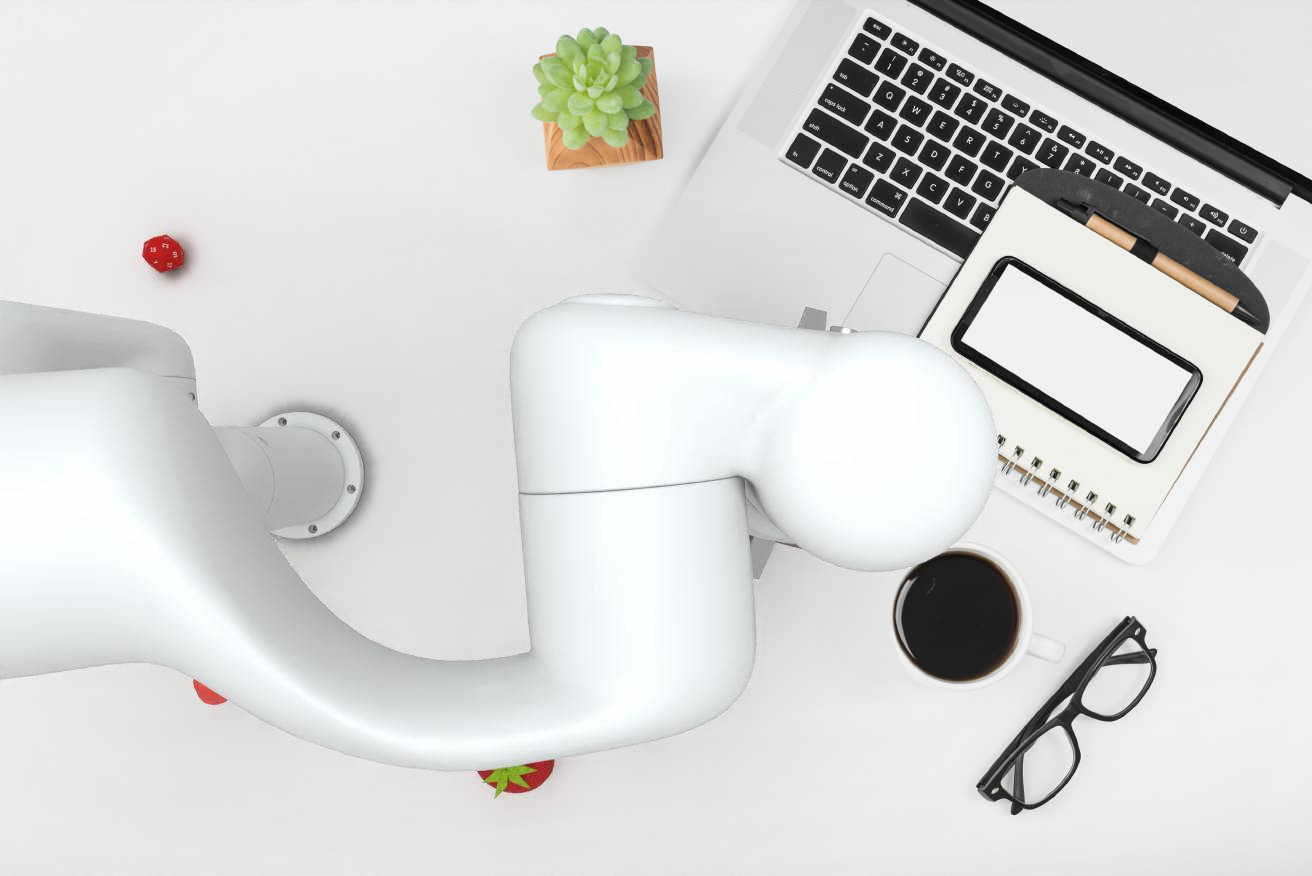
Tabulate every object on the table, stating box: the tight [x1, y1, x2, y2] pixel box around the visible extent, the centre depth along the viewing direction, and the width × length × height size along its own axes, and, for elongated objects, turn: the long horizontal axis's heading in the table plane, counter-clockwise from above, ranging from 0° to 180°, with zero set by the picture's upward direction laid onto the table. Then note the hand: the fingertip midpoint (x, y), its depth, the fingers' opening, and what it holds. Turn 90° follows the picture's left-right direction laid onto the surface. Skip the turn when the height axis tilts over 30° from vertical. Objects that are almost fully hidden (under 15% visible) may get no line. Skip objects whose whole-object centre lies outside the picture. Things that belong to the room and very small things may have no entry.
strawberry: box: [476, 759, 555, 800], centre depth 78 cm, size 6×8×10 cm
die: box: [141, 234, 185, 274], centre depth 81 cm, size 4×4×4 cm
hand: (766, 442), depth 54 cm, fingers open, 6 cm apart
